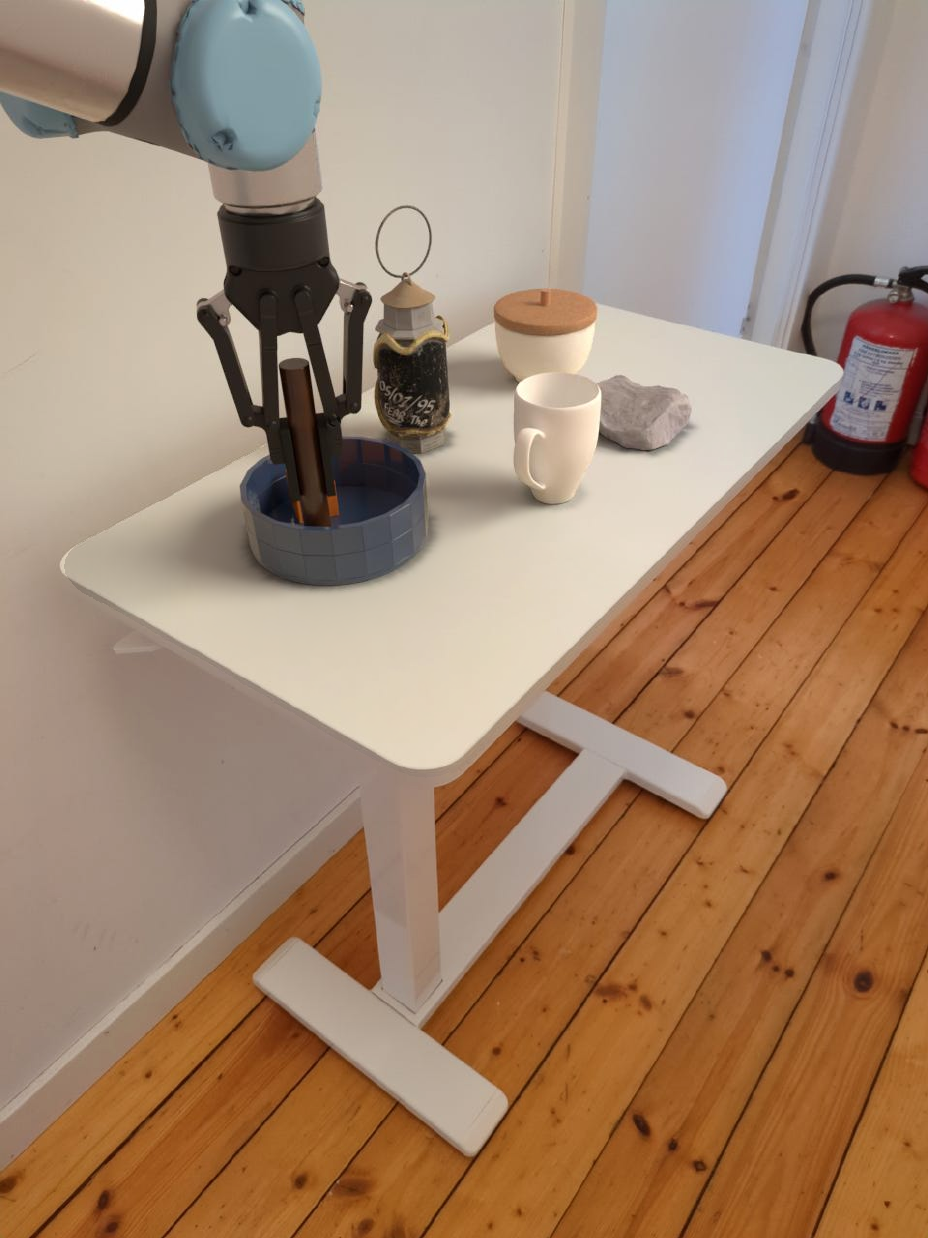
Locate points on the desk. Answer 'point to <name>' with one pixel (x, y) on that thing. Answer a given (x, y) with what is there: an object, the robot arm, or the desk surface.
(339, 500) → the stir bowl
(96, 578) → the desk surface
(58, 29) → the robot arm
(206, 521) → the desk surface
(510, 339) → the lidded bowl
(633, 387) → the stone block
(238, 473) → the desk surface
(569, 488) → the mug
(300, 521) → the block
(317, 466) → the stick
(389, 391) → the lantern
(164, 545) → the desk surface
